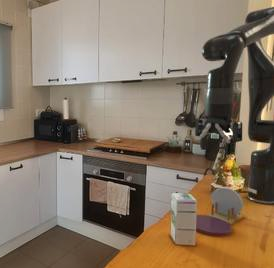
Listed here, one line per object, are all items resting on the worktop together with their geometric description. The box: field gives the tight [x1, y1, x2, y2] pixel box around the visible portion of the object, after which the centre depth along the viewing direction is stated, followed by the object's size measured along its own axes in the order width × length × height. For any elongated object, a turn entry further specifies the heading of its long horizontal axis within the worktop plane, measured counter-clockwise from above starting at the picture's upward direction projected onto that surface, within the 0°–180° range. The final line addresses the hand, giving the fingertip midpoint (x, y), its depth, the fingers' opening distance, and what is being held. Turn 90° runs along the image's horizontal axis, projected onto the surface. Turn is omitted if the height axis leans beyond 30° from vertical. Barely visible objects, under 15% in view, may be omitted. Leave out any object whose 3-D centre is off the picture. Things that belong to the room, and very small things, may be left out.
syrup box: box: [170, 192, 198, 246], centre depth 84 cm, size 6×6×14 cm
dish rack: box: [206, 202, 245, 226], centre depth 99 cm, size 10×8×5 cm
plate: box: [210, 187, 244, 216], centre depth 98 cm, size 1×10×10 cm, turn 31°
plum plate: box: [196, 214, 233, 237], centre depth 93 cm, size 13×13×1 cm
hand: (215, 151), depth 89 cm, fingers open, 8 cm apart
